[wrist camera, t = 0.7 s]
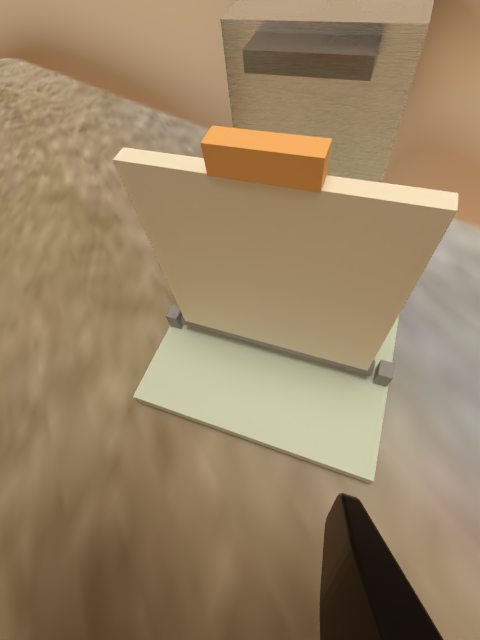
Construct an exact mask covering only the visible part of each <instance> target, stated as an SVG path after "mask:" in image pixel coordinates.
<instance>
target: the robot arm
mask: <svg viewBox="0 0 480 640" xmlns="http://www.w3.org/2000/svg"><path fill="white" fill-rule="evenodd" d="M320 640H443V638H442V636H441V635H440V633H439V631H438V630H437V628H436V626H435V625H434V623H433V621H432V620H431V618H430V616H429V615H428V613H427V611H426V610H425V608H424V606H423V605H422V603H421V601H420V600H419V598H418V596H417V595H416V593H415V591H414V590H413V588H412V586H411V585H410V583H409V581H408V580H407V578H406V576H405V575H404V573H403V571H402V570H401V568H400V566H399V565H398V563H397V561H396V560H395V558H394V556H393V555H392V553H391V551H390V550H389V548H388V546H387V545H386V543H385V541H384V540H383V538H382V536H381V535H380V533H379V531H378V530H377V528H376V526H375V525H374V523H373V521H372V520H371V518H370V516H369V515H368V513H367V511H366V510H365V508H364V506H363V505H362V503H361V501H360V500H359V499H358V498H356V497H353V496H350V495H347V494H344V493H340V494H339V495H338V496H337V498H336V500H335V502H334V504H333V506H332V508H331V510H330V512H329V514H328V516H327V519H326V523H325V533H324V547H323V561H322V575H321V589H320Z"/></svg>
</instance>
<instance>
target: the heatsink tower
mask: <svg viewBox="0 0 480 640" xmlns="http://www.w3.org/2000/svg"><path fill="white" fill-rule="evenodd" d="M433 2H434V0H237V1H236V2H235V4H234V5H233V6H232V7H231V8H230V9H229V10H228V11H227V13H226V14H225V15H224V16H223V17H222V18H221V27H222V36H223V45H224V54H225V62H226V70H227V80H228V89H229V97H230V106H231V115H232V124H233V128H239V129H248V130H257V131H266V132H275V133H285V134H294V135H303V136H312V137H321V138H331V139H332V144H331V152H330V159H329V166H328V173H327V175H329V176H336V177H343V178H351V179H358V180H365V181H373V182H380V183H382V181H383V177H384V174H385V171H386V167H387V164H388V161H389V157H390V154H391V151H392V147H393V144H394V141H395V137H396V134H397V130H398V127H399V124H400V120H401V117H402V113H403V110H404V107H405V104H406V100H407V97H408V93H409V89H410V87H411V84H412V80H413V77H414V73H415V70H416V67H417V63H418V60H419V57H420V53H421V50H422V46H423V43H424V40H425V36H426V33H427V30H428V27H429V23H430V18H431V13H432V8H433Z"/></svg>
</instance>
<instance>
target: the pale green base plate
mask: <svg viewBox="0 0 480 640" xmlns="http://www.w3.org/2000/svg"><path fill="white" fill-rule="evenodd" d="M181 317H182V313H181V311H180V308H179V306H176V305H172V306H171V308H170V309H169V311H168V313H167V315H166V318H167V319H168V321H169V323H170V327H169V329H168V331H167V333H166V335H165V337H164V339H163V341H162V342H161V344H160V346H159V348H158V350H157V352H156V354H155V356H154V358H153V360H152V361H151V363H150V365H149V367H148V369H147V371H146V373H145V375H144V377H143V379H142V381H141V382H140V384H139V386H138V388H137V390H136V392H135V394H134V396H133V397H134V398H135V399H136V400H137V401H138V402H141V403H144V404H146V405H149V406H152V407H155V408H158V409H161V410H163V411H166V412H169V413H172V414H175V415H177V416H180V417H183V418H186V419H189V420H192V421H194V422H197V423H200V424H203V425H206V426H209V427H211V428H214V429H217V430H220V431H223V432H225V433H228V434H231V435H234V436H237V437H240V438H242V439H245V440H248V441H251V442H254V443H256V444H259V445H262V446H265V447H268V448H271V449H273V450H276V451H279V452H282V453H285V454H288V455H290V456H293V457H296V458H299V459H302V460H304V461H307V462H310V463H313V464H316V465H319V466H321V467H324V468H327V469H330V470H333V471H335V472H338V473H341V474H344V475H347V476H350V477H352V478H355V479H358V480H361V481H364V482H366V483H371V482H373V481H374V476H375V469H376V463H377V456H378V450H379V443H380V437H381V430H382V424H383V417H384V411H385V404H386V398H387V391H388V384H389V383H390V382H391V380H392V379H393V374H394V367H395V363H392V358H393V352H394V345H395V339H396V332H397V326H398V319H399V316H398V317H397V319H396V321H395V323H394V325H393V326H392V328H391V330H390V332H389V333H388V335H387V337H386V339H385V341H384V342H383V344H382V346H381V348H380V350H379V351H378V353H377V355H376V357H375V358H374V360H375V366H374V370H373V373H372V376H368V375H364V374H361V373H357V372H353V371H350V370H346V369H343V368H339V367H335V366H332V365H328V364H324V363H321V362H317V361H314V360H310V359H306V358H303V357H299V356H296V355H292V354H288V353H285V352H281V351H278V350H274V349H270V348H267V347H263V346H259V345H256V344H252V343H249V342H245V341H241V340H238V339H234V338H231V337H227V336H223V335H220V334H216V333H213V332H209V331H205V330H202V329H198V328H194V327H191V326H187V325H184V324H182V323H181Z"/></svg>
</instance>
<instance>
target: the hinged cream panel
mask: <svg viewBox="0 0 480 640" xmlns="http://www.w3.org/2000/svg"><path fill="white" fill-rule="evenodd" d="M331 144H332V139H331V138H321V137H312V136H303V135H294V134H285V133H275V132H266V131H257V130H248V129H239V128H229V127H220V126H212V127H211V128H210V130H209V131H208V133H207V134H206V136H205V137H204V139H203V140H202V142H201V147H202V152H203V157H204V158H197V157H189V156H182V155H175V154H167V153H160V152H153V151H145V150H138V149H131V148H122V150H121V151H120V152H119V153H118V154H117V156H116V157H115V158H114V159H113V161H114V163H115V165H116V168H117V170H118V172H119V174H120V177H121V179H122V181H123V183H124V186H125V188H126V190H127V192H128V194H129V197H130V199H131V201H132V203H133V206H134V208H135V210H136V212H137V215H138V217H139V219H140V221H141V224H142V226H143V228H144V230H145V232H146V235H147V237H148V239H149V241H150V244H151V246H152V248H153V250H154V253H155V255H156V257H157V259H158V261H159V264H160V266H161V268H162V270H163V273H164V275H165V277H166V279H167V282H168V284H169V286H170V288H171V291H172V293H173V295H174V297H175V299H176V302H177V304H178V306H179V308H180V311H181V313H182V317H181V323H182V324H184V325H187V326H191V327H194V328H198V329H202V330H205V331H209V332H213V333H216V334H220V335H223V336H227V337H231V338H234V339H238V340H241V341H245V342H249V343H252V344H256V345H259V346H263V347H267V348H270V349H274V350H278V351H281V352H285V353H288V354H292V355H296V356H299V357H303V358H306V359H310V360H314V361H317V362H321V363H324V364H328V365H332V366H335V367H339V368H343V369H346V370H350V371H353V372H357V373H361V374H364V375H368V376H372V373H373V370H374V366H375V360H374V358H375V357H376V355H377V353H378V351H379V350H380V348H381V346H382V344H383V342H384V341H385V339H386V337H387V335H388V333H389V332H390V330H391V328H392V326H393V325H394V323H395V321H396V319H397V317H398V316H399V314H400V312H401V310H402V309H403V307H404V305H405V303H406V301H407V300H408V298H409V296H410V294H411V292H412V291H413V289H414V287H415V285H416V284H417V282H418V280H419V278H420V276H421V275H422V273H423V271H424V269H425V268H426V266H427V264H428V262H429V260H430V259H431V257H432V255H433V253H434V251H435V250H436V248H437V246H438V244H439V243H440V241H441V239H442V237H443V235H444V234H445V232H446V230H447V228H448V227H449V225H450V223H451V221H452V219H453V218H454V216H455V214H456V212H457V208H458V193H452V192H446V191H438V190H431V189H424V188H416V187H409V186H402V185H395V184H387V183H380V182H373V181H365V180H358V179H351V178H343V177H336V176H329V175H327V173H328V166H329V159H330V152H331Z"/></svg>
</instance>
